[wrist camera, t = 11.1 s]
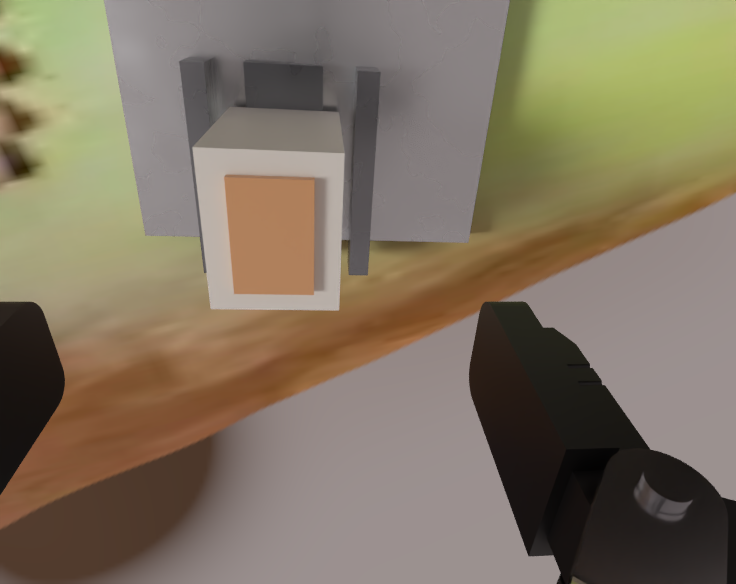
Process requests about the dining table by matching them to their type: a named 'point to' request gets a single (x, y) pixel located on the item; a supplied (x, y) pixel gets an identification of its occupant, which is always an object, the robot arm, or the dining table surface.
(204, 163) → the block
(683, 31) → the dining table surface
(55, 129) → the dining table surface
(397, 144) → the rail panel
